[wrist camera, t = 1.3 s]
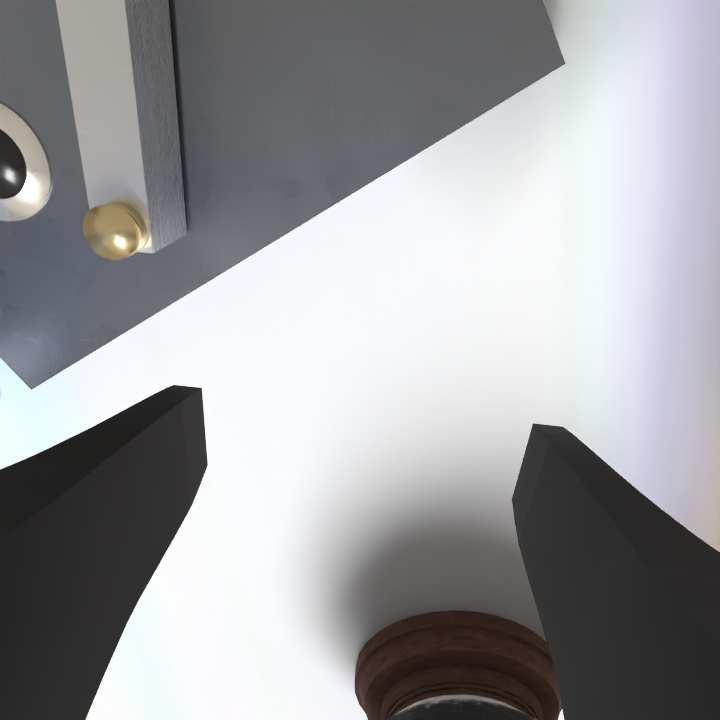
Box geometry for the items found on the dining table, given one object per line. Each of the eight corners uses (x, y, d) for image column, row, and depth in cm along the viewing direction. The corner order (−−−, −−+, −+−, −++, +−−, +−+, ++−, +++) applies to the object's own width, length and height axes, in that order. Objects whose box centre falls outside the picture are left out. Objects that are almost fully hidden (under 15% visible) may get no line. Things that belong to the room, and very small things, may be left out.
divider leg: (78, -252, 11) (-26, -368, 8) (149, -248, 11) (67, -363, 8) (137, 232, 16) (83, 257, 13) (187, 237, 16) (143, 263, 13)
